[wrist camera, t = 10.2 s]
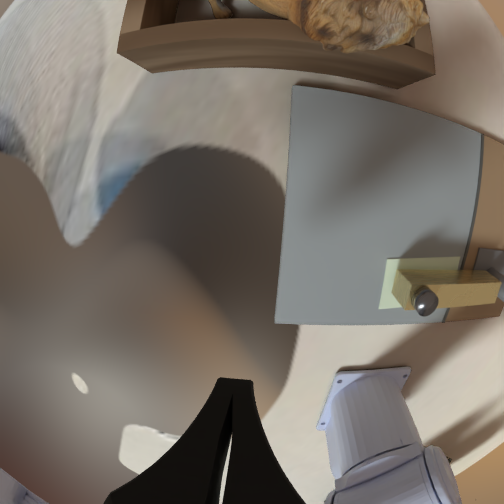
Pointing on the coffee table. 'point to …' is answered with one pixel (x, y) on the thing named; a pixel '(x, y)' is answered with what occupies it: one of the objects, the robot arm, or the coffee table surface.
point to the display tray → (261, 47)
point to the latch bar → (443, 289)
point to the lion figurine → (346, 20)
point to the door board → (383, 209)
